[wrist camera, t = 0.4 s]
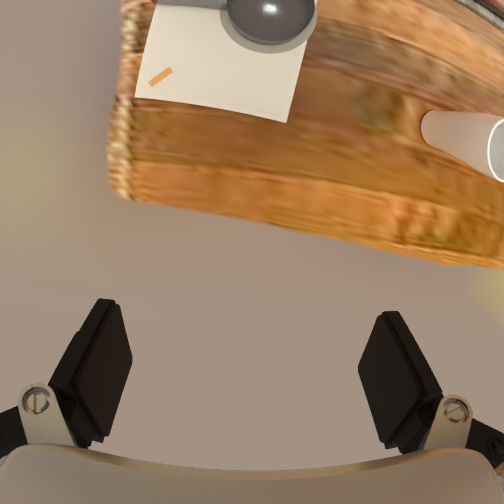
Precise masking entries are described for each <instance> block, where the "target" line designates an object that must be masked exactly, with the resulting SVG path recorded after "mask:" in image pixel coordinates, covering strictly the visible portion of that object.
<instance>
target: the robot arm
mask: <svg viewBox="0 0 504 504" xmlns="http://www.w3.org/2000/svg"><path fill="white" fill-rule="evenodd" d="M131 365H132V354H131V350H130V346H129V342H128V338H127V334H126V330H125V326H124V322H123V318H122V313H121V309H120V306H119V305H118V304H116V303H115V301H114V300H110V299H102V298H100V299H98V300H97V302H96V303H95V305H94V307H93V308H92V310H91V312H90V313H89V315H88V317H87V318H86V320H85V322H84V323H83V325H82V327H81V328H80V331H78V332H76V334H75V335H74V337H73V338H72V340H71V342H70V344H69V345H68V347H67V349H66V351H65V353H64V355H63V356H62V358H61V360H60V362H59V364H58V366H57V368H56V369H55V372H54V373H53V375H52V377H51V379H50V381H49V383H48V385H45V384H43V383H35V384H31V385H29V386H27V387H26V388H25V389H24V390H23V391H22V392H21V394H20V395H19V398H18V406H16V407H14V408H11V409H9V410H6V411H4V412H2V413H0V504H504V434H503V433H501V432H500V431H498V430H495V429H493V428H492V427H489V426H487V425H485V424H483V423H481V422H479V421H477V420H475V419H473V418H472V414H473V412H472V408H471V406H470V405H469V403H468V402H467V401H466V400H465V399H464V398H462V397H460V396H457V395H448V396H445V397H444V396H443V394H442V390H441V388H440V386H439V384H438V382H437V380H436V378H435V376H434V374H433V372H432V370H431V368H430V366H429V364H428V363H427V361H426V359H425V357H424V355H423V353H422V352H421V350H420V348H419V346H418V344H417V342H416V341H415V339H414V337H413V335H412V333H411V332H410V330H409V328H408V326H407V325H406V323H405V321H404V320H403V318H402V316H401V315H400V313H399V312H398V311H384V312H383V313H382V314H381V315H379V316H378V317H377V319H376V322H375V324H374V327H373V330H372V332H371V335H370V337H369V340H368V343H367V345H366V348H365V350H364V352H363V355H362V357H361V360H360V362H359V365H358V373H359V376H360V379H361V382H362V385H363V388H364V391H365V394H366V398H367V401H368V404H369V407H370V410H371V413H372V417H373V420H374V423H375V426H376V430H377V433H378V436H379V440H380V441H381V442H382V443H384V445H385V448H386V449H390V448H395V447H398V449H399V452H400V453H399V455H398V456H395V457H389V458H383V459H378V460H372V461H367V462H360V463H354V464H347V465H339V466H331V467H322V468H310V469H296V470H295V469H294V470H271V471H270V470H268V471H266V470H265V471H249V470H219V469H205V468H193V467H183V466H175V465H167V464H161V463H154V462H148V461H142V460H137V459H131V458H126V457H121V456H116V455H110V454H107V453H102V452H98V451H93V450H90V447H89V446H91V443H92V441H96V442H100V443H103V440H104V437H105V436H109V434H110V431H111V427H112V424H113V421H114V418H115V414H116V411H117V408H118V405H119V402H120V398H121V395H122V392H123V389H124V386H125V383H126V380H127V377H128V374H129V371H130V368H131Z"/></svg>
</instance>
